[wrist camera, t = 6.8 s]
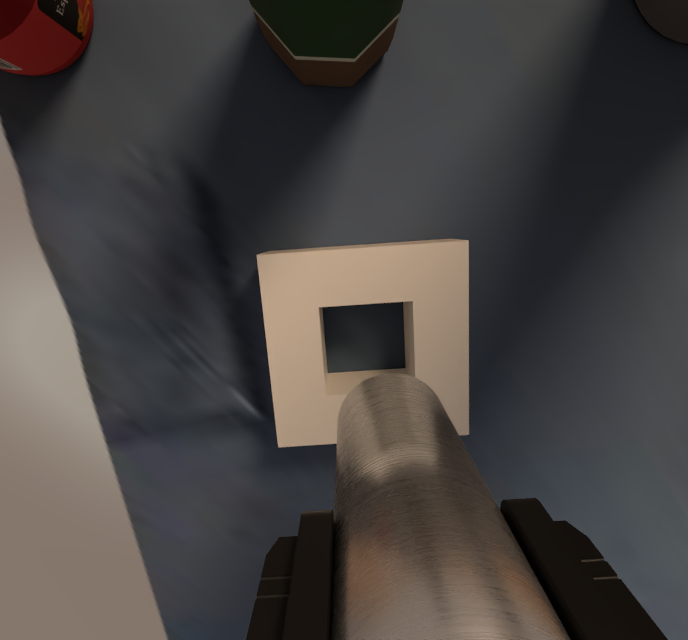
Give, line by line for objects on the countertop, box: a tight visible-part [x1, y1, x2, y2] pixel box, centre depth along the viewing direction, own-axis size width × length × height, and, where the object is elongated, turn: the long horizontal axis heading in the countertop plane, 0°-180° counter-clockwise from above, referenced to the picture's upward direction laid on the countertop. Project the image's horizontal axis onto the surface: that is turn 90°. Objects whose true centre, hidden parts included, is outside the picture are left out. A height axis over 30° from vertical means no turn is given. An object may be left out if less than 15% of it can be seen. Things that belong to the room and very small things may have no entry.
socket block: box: [257, 239, 469, 447], centre depth 27 cm, size 12×12×4 cm
